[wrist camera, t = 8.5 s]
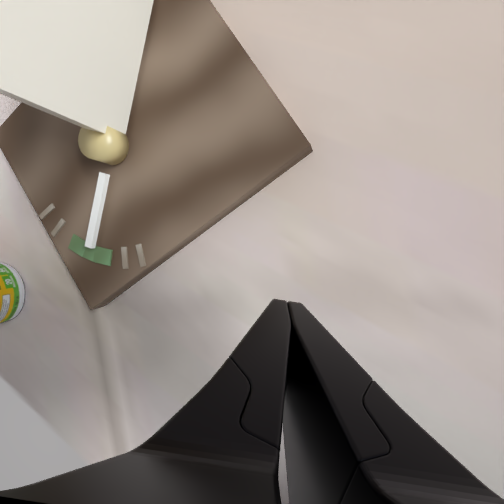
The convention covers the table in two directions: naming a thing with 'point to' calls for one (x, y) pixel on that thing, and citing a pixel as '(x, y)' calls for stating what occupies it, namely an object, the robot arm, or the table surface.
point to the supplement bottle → (10, 292)
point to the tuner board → (158, 153)
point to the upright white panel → (77, 71)
